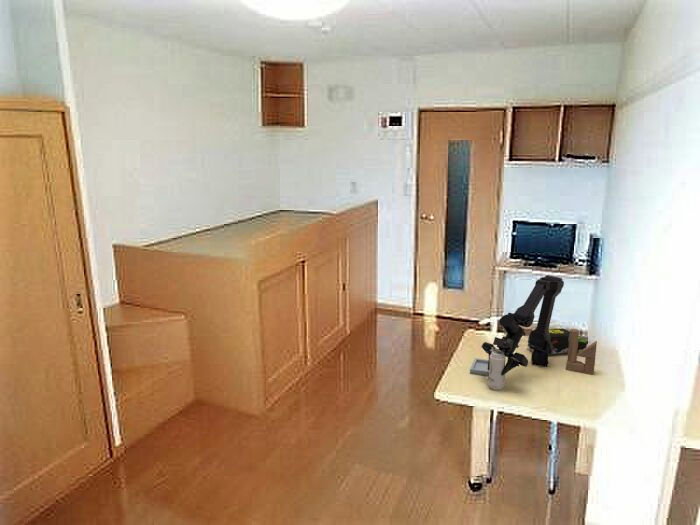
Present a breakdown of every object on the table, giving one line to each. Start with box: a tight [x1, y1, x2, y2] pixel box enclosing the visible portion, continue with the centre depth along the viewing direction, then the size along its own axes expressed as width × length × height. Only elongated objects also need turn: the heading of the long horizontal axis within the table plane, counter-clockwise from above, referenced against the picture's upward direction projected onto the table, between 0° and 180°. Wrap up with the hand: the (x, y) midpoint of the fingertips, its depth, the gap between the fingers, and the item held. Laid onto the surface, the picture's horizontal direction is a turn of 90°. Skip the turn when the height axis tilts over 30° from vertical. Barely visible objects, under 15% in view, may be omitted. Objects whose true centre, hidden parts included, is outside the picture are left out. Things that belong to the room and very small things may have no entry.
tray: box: [469, 357, 489, 377], centre depth 222 cm, size 12×12×2 cm
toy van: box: [526, 327, 588, 358], centre depth 238 cm, size 11×25×10 cm, turn 99°
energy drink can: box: [488, 350, 507, 391], centre depth 205 cm, size 6×6×15 cm
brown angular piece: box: [565, 328, 598, 375], centre depth 217 cm, size 4×11×18 cm, turn 60°
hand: (494, 372), depth 204 cm, fingers closed on energy drink can, 6 cm apart
